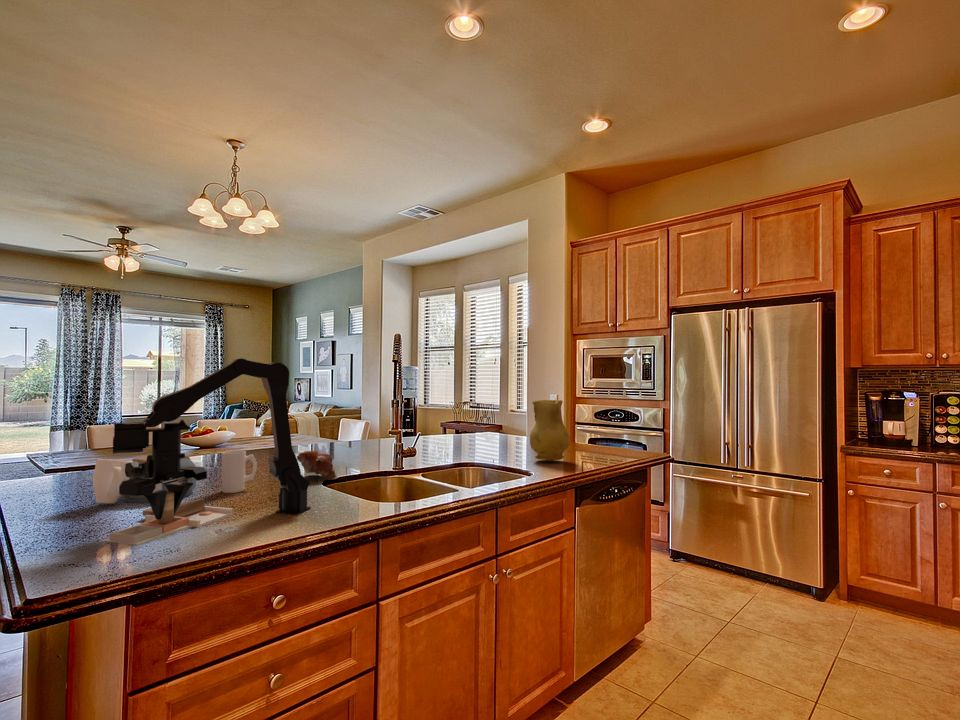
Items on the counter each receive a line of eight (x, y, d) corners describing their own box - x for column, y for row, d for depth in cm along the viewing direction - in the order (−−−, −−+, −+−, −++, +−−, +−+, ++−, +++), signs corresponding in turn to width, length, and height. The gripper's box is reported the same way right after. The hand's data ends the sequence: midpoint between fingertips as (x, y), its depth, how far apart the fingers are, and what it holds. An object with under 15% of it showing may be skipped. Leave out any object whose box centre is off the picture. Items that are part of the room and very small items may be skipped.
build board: (192, 528, 119) (192, 518, 119) (137, 549, 105) (137, 537, 106) (162, 525, 121) (162, 515, 121) (105, 544, 108) (105, 533, 108)
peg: (177, 522, 118) (177, 492, 118) (164, 526, 115) (165, 495, 115) (165, 521, 119) (166, 491, 119) (152, 525, 116) (153, 494, 116)
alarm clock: (195, 485, 163) (196, 447, 164) (196, 498, 146) (197, 457, 146) (124, 492, 154) (124, 452, 154) (116, 507, 136) (116, 463, 137)
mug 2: (221, 494, 152) (222, 454, 152) (220, 489, 157) (221, 451, 158) (257, 490, 156) (258, 452, 157) (255, 486, 162) (256, 449, 163)
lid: (204, 509, 130) (204, 498, 130) (174, 518, 122) (175, 507, 122) (173, 506, 133) (174, 495, 133) (142, 515, 124) (142, 504, 124)
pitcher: (528, 460, 211) (528, 401, 211) (531, 453, 229) (531, 398, 229) (569, 462, 208) (569, 401, 208) (569, 454, 226) (569, 399, 227)
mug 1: (85, 500, 137) (95, 458, 139) (122, 500, 143) (131, 459, 145) (90, 506, 128) (100, 460, 131) (128, 506, 134) (138, 462, 136)
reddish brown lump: (344, 478, 175) (344, 449, 175) (310, 484, 166) (310, 454, 166) (321, 471, 186) (321, 444, 186) (288, 477, 177) (288, 448, 177)
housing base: (232, 516, 129) (232, 508, 129) (197, 529, 119) (197, 520, 119) (182, 511, 133) (182, 503, 134) (144, 523, 123) (144, 515, 123)
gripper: (173, 442, 128) (172, 504, 128) (100, 454, 110) (99, 526, 110) (208, 444, 125) (208, 507, 125) (139, 457, 107) (138, 530, 107)
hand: (165, 517), depth 117 cm, fingers closed on peg, 3 cm apart
